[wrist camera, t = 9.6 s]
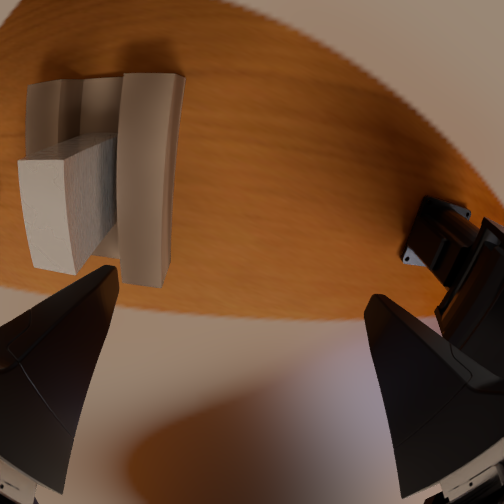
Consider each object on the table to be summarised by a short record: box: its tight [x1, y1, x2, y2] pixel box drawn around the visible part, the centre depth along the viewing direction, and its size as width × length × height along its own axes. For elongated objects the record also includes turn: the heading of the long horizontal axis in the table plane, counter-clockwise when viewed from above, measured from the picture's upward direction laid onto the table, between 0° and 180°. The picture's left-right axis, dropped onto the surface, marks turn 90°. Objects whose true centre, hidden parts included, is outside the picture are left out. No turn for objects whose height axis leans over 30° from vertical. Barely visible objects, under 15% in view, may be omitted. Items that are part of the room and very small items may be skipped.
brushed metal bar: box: [18, 133, 118, 275], centre depth 15 cm, size 3×6×8 cm, turn 170°
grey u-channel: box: [26, 73, 186, 288], centre depth 17 cm, size 10×14×4 cm
